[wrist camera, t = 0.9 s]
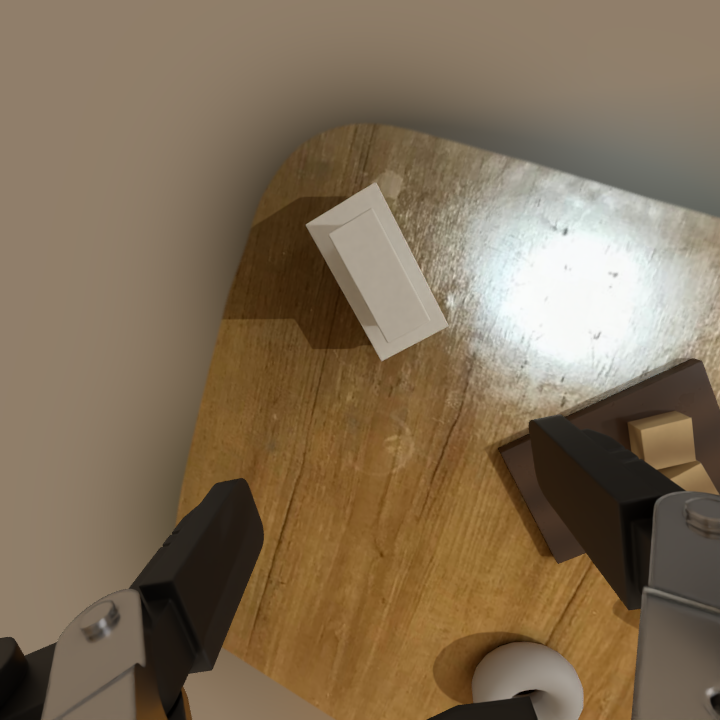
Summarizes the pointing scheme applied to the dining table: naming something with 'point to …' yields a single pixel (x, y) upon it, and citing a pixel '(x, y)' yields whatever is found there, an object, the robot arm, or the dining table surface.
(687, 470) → the tan square slab
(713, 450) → the board
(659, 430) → the tan flat square block
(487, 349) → the dining table surface
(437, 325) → the white stepped wedge block
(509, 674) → the donut
